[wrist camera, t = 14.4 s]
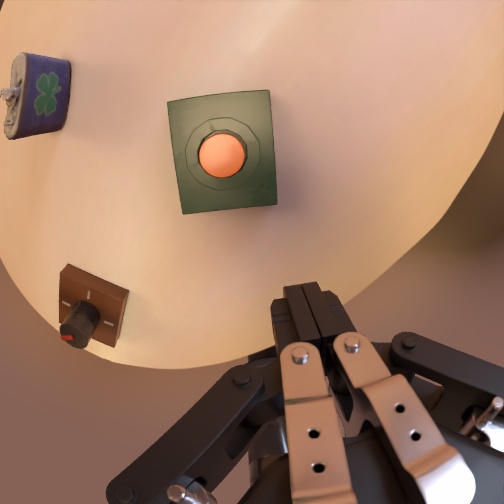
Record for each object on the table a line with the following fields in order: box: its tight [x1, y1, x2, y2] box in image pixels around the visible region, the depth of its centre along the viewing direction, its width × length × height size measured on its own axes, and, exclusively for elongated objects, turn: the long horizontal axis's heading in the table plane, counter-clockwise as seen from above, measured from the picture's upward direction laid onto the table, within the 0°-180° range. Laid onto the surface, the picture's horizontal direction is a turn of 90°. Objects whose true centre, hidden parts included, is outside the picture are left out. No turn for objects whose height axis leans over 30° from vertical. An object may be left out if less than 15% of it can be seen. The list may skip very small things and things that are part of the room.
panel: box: [59, 264, 128, 348], centre depth 35 cm, size 10×10×3 cm
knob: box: [60, 301, 100, 349], centre depth 31 cm, size 4×4×5 cm
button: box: [199, 133, 245, 178], centre depth 24 cm, size 4×4×2 cm
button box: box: [167, 90, 278, 215], centre depth 26 cm, size 12×10×4 cm
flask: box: [0, 52, 71, 140], centre depth 18 cm, size 9×3×11 cm, turn 172°
